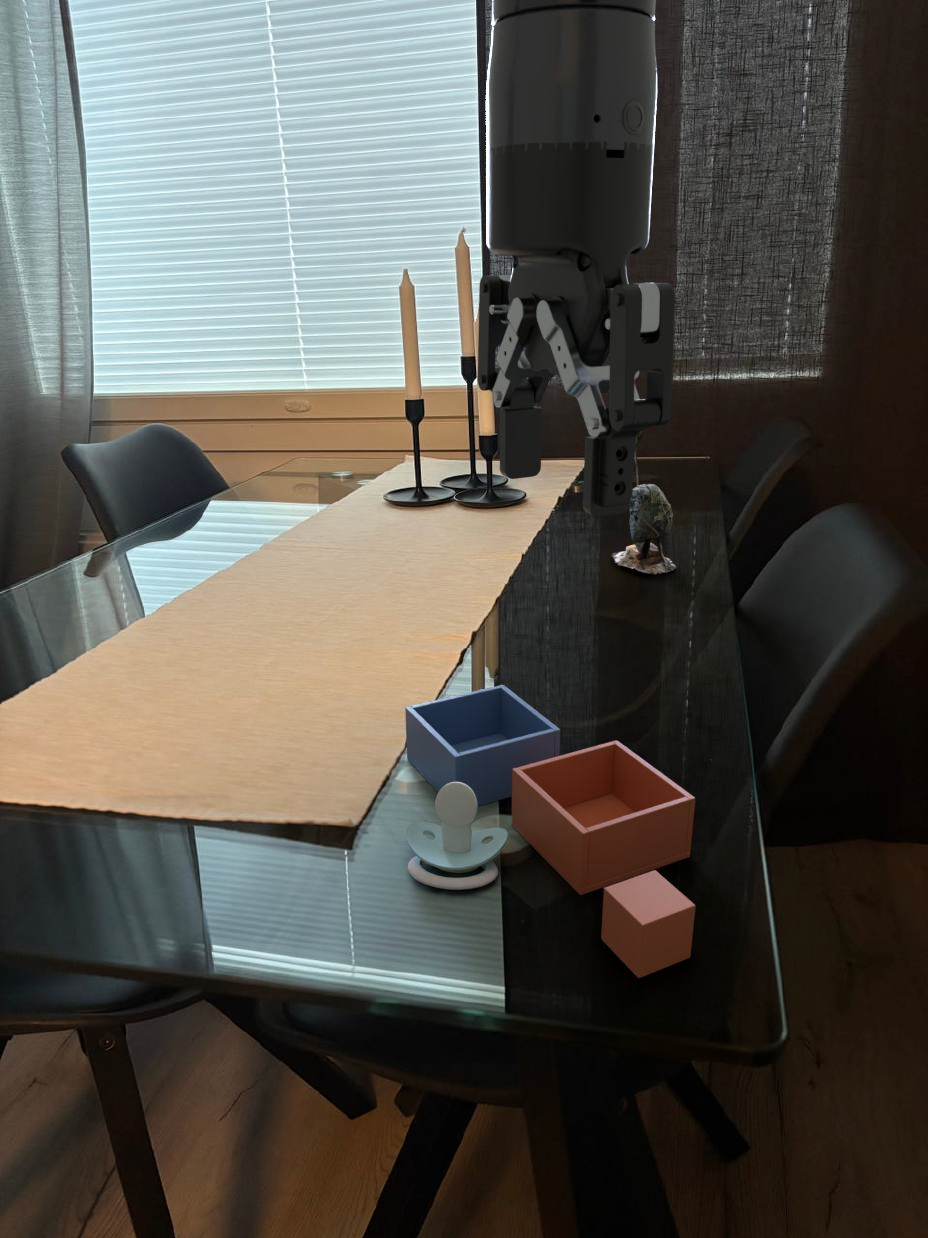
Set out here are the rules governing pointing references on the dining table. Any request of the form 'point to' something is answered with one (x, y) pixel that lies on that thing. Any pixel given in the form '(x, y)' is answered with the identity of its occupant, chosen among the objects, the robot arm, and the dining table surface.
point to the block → (647, 923)
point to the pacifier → (454, 842)
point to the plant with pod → (647, 527)
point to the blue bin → (478, 740)
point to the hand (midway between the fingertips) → (560, 493)
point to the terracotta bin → (601, 815)
